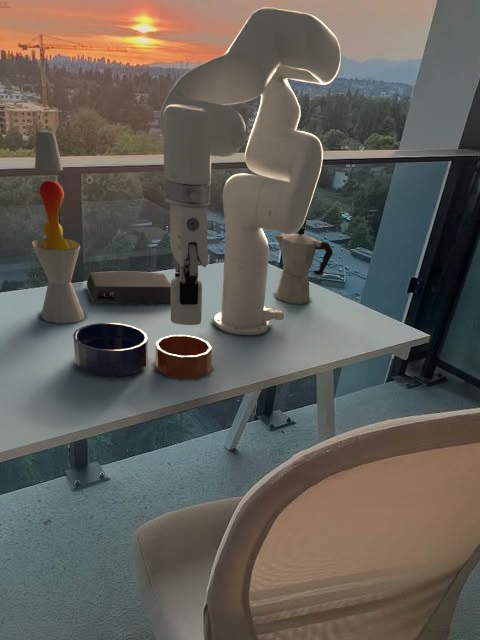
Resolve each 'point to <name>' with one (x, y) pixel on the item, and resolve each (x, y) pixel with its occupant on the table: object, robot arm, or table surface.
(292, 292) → the coffeepot
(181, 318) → the eye dropper bottle
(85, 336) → the bowl
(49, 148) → the lava lamp
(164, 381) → the table surface
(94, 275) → the hard drive
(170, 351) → the brown round container
